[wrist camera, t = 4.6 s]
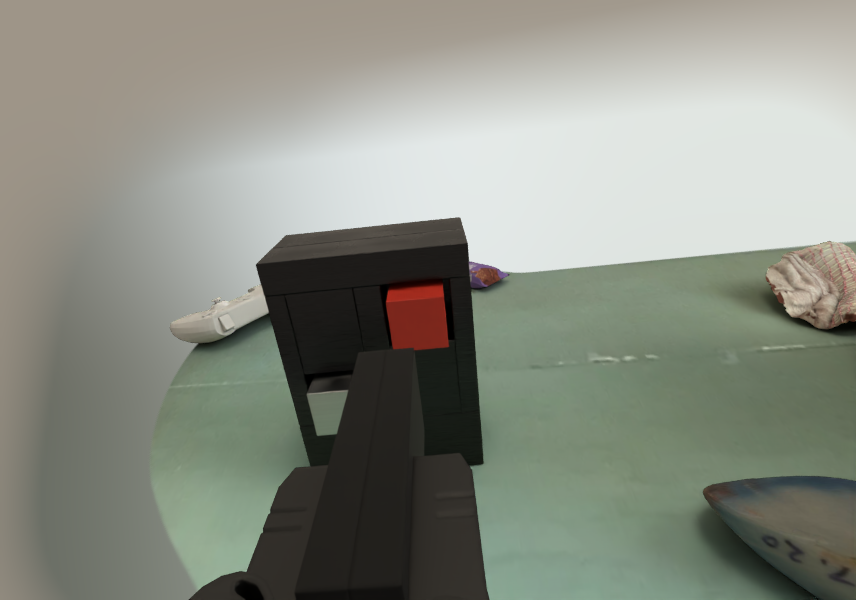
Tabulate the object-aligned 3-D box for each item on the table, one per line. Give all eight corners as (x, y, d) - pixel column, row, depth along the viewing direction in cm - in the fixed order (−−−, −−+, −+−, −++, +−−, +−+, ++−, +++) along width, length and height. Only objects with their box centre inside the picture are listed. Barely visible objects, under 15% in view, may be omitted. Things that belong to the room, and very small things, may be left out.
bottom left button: (367, 432, 29) (358, 389, 27) (316, 436, 29) (306, 394, 28) (372, 402, 31) (364, 362, 30) (326, 406, 32) (316, 367, 30)
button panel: (483, 464, 32) (467, 242, 25) (313, 478, 32) (255, 264, 26) (475, 410, 37) (460, 216, 31) (329, 423, 38) (285, 235, 31)
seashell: (678, 454, 27) (813, 502, 17) (839, 462, 27) (1071, 514, 17) (683, 569, 26) (829, 689, 16) (850, 578, 26) (1103, 708, 16)
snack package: (422, 264, 65) (446, 254, 69) (423, 277, 66) (447, 266, 69) (486, 279, 58) (510, 267, 61) (486, 294, 58) (510, 281, 61)
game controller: (260, 277, 65) (298, 265, 58) (273, 306, 66) (312, 297, 59) (157, 320, 55) (189, 311, 48) (174, 353, 56) (207, 349, 49)
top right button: (448, 347, 26) (443, 296, 25) (393, 352, 26) (385, 302, 25) (446, 323, 29) (442, 276, 28) (396, 328, 29) (389, 281, 28)
